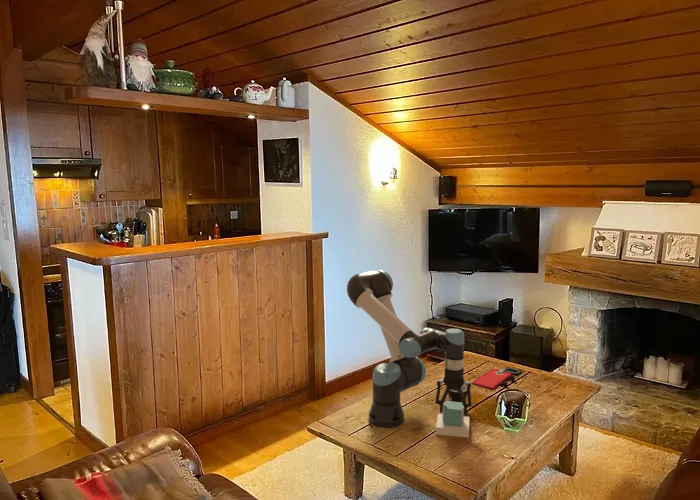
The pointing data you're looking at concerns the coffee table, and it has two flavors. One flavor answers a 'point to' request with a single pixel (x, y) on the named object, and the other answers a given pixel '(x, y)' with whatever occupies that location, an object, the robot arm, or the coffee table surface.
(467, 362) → the coffee table surface
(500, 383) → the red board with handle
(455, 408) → the teal cube
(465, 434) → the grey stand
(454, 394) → the coffee mug
